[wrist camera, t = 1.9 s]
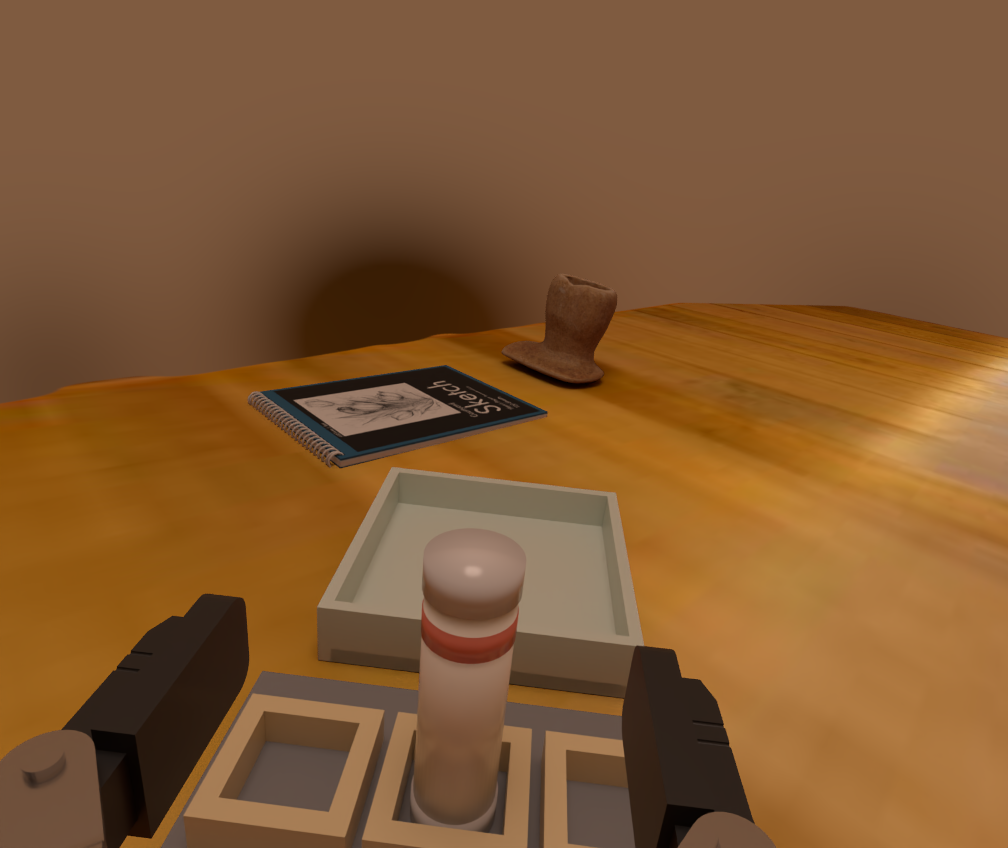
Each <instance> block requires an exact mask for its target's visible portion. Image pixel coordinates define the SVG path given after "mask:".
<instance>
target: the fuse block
mask: <svg viewBox="0 0 1008 848" xmlns="http://www.w3.org/2000/svg"><path fill="white" fill-rule="evenodd" d="M417 709H418V691H417V690H409V689H401V688H393V687H385V686H377V685H369V684H361V683H353V682H345V681H337V680H330V679H322V678H314V677H306V676H298V675H290V674H282V673H274V672H266V671H262V673H261V674H260V676H259V678H258V680H257V681H256V683H255V685H254V687H253V688H252V690H251V692H250V694H249V695H248V697H247V699H246V701H245V702H244V704H243V706H242V707H241V709H240V711H239V713H238V714H237V716H236V718H235V720H234V721H233V723H232V725H231V727H230V728H229V730H228V732H227V734H226V735H225V737H224V739H223V741H222V742H221V744H220V746H219V747H218V749H217V751H216V753H215V754H214V756H213V758H212V760H211V761H210V763H209V765H208V767H207V768H206V770H205V772H204V774H203V775H202V777H201V779H200V781H199V782H198V784H197V786H196V787H195V789H194V791H193V793H192V794H191V796H190V798H189V800H188V801H187V803H186V805H185V807H184V808H183V810H182V812H181V814H180V815H179V817H178V819H177V820H176V822H175V824H174V826H173V827H172V829H171V831H170V833H169V834H168V836H167V838H166V840H165V841H164V843H163V845H162V847H161V848H635V841H634V832H633V824H632V816H631V807H630V799H629V791H628V782H627V774H626V765H625V757H624V749H623V740H622V716H615V715H607V714H599V713H592V712H584V711H576V710H568V709H560V708H552V707H544V706H536V705H528V704H520V703H512V702H507V704H506V712H505V720H504V729H503V737H502V745H501V753H500V762H499V770H498V778H497V783H498V796H497V804H496V812H495V819H494V823H493V826H492V828H491V830H490V831H489V833H483V832H476V831H468V830H461V829H453V828H446V827H438V826H431V825H423V824H415V823H411V820H410V794H411V782H412V778H413V775H414V762H415V744H416V726H417Z"/></svg>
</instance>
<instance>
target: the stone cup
mask: <svg viewBox="0 0 1008 848" xmlns="http://www.w3.org/2000/svg"><path fill="white" fill-rule="evenodd" d="M616 305H617V294H616V292H615V290H614V289H612V288H610V287H608V286H605V285H602V284H599V283H596V282H592V281H589V280H586V279H581V278H579V277H576V276H572V275H567V274H559V275H557V276H556V277H555V278H554V279H553V281H552V282H551V285H550V288H549V291H548V295H547V302H546V331H545V339H544V341H543V342H541V343H537V342H531V341H521V342H515V343H512V344H510V345H508V346H506V347H505V348H504V349H503V351H502V354H503V355H505V356H507V357H509V358H511V359H512V360H514V361H517V362H518V363H520V364H523V365H525V366H527V367H529V368H531V369H533V370H536V371H538V372H540V373H543V374H545V375H548V376H550V377H553V378H556V379H559V380H562V381H565V382H570V383H588V382H593V381H597V380H599V379H600V378H601V377H603V375H604V372H603V371H602V370H601V369H600V368H599V367H598V366H597V365H596V364H595V363H594V351H595V349H596V347H597V345H598V343H599V341H600V340H601V338H602V337H603V335H604V333H605V331H606V330H607V328H608V326H609V323H610V321H611V319H612V317H613V314H614V312H615V309H616Z"/></svg>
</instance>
